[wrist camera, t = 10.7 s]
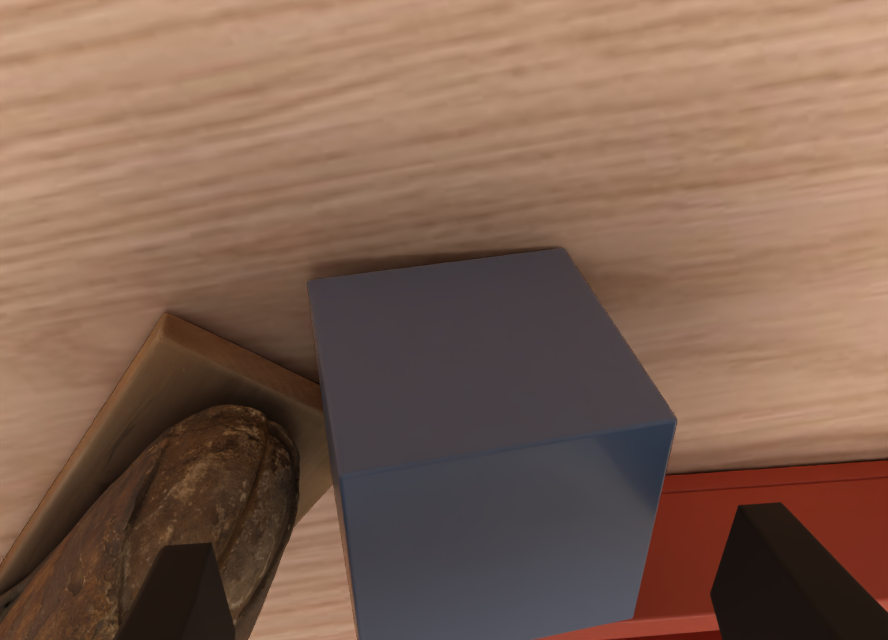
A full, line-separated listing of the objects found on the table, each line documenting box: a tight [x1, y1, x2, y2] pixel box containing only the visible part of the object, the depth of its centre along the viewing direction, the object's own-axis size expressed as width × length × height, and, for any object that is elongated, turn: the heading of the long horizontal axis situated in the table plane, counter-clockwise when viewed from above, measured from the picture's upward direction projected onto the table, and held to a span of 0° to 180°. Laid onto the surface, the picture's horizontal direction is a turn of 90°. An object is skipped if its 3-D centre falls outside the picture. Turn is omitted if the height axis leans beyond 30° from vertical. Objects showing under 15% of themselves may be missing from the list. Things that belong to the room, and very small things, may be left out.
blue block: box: [307, 248, 677, 640], centre depth 13 cm, size 4×4×4 cm
